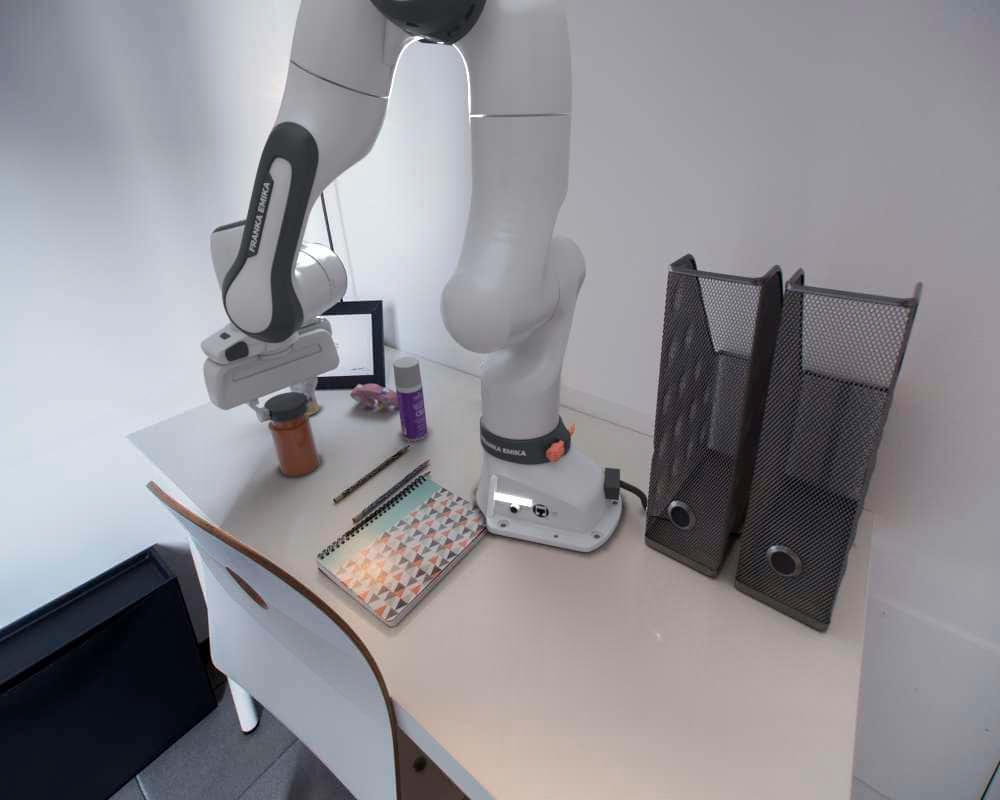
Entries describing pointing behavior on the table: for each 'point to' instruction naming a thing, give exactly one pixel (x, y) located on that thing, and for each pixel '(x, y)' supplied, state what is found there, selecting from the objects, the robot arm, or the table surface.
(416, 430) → the container
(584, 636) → the table surface
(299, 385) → the sprinkles bottle
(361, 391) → the pink toy animal
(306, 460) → the jar
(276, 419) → the lid
